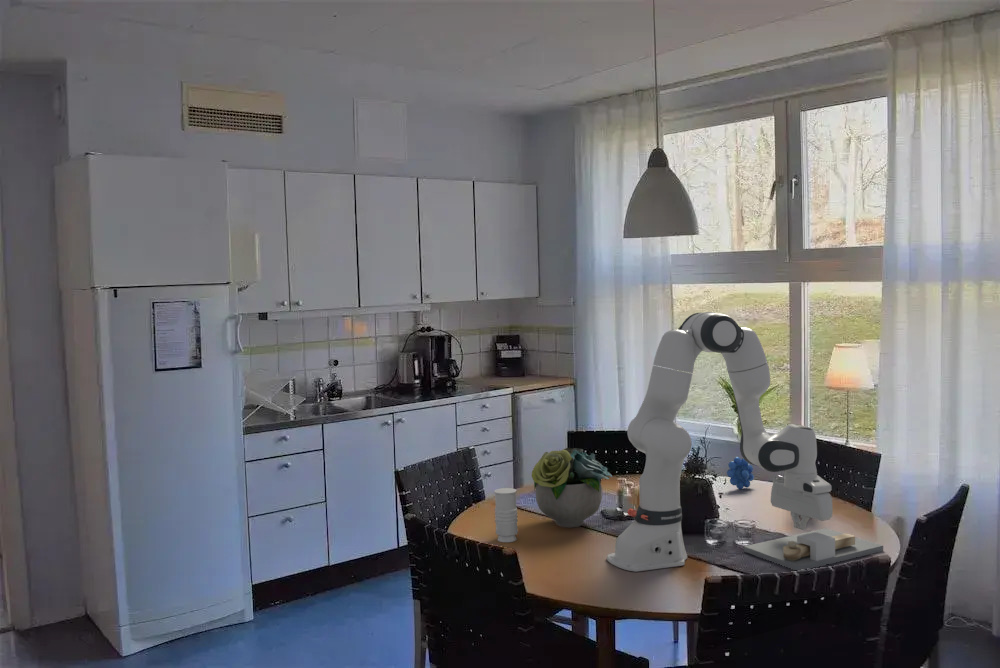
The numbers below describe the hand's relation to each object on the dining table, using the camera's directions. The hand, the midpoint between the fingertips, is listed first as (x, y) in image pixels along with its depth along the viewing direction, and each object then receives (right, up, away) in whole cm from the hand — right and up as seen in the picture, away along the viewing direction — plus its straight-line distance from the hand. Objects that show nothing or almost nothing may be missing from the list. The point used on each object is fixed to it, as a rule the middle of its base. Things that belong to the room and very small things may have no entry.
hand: (800, 528), depth 242 cm
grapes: (+2, -1, +65) cm, 65 cm away
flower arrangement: (-64, -5, +29) cm, 70 cm away
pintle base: (+2, -5, -6) cm, 8 cm away
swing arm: (+1, -3, -12) cm, 12 cm away
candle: (-84, -7, +15) cm, 85 cm away
